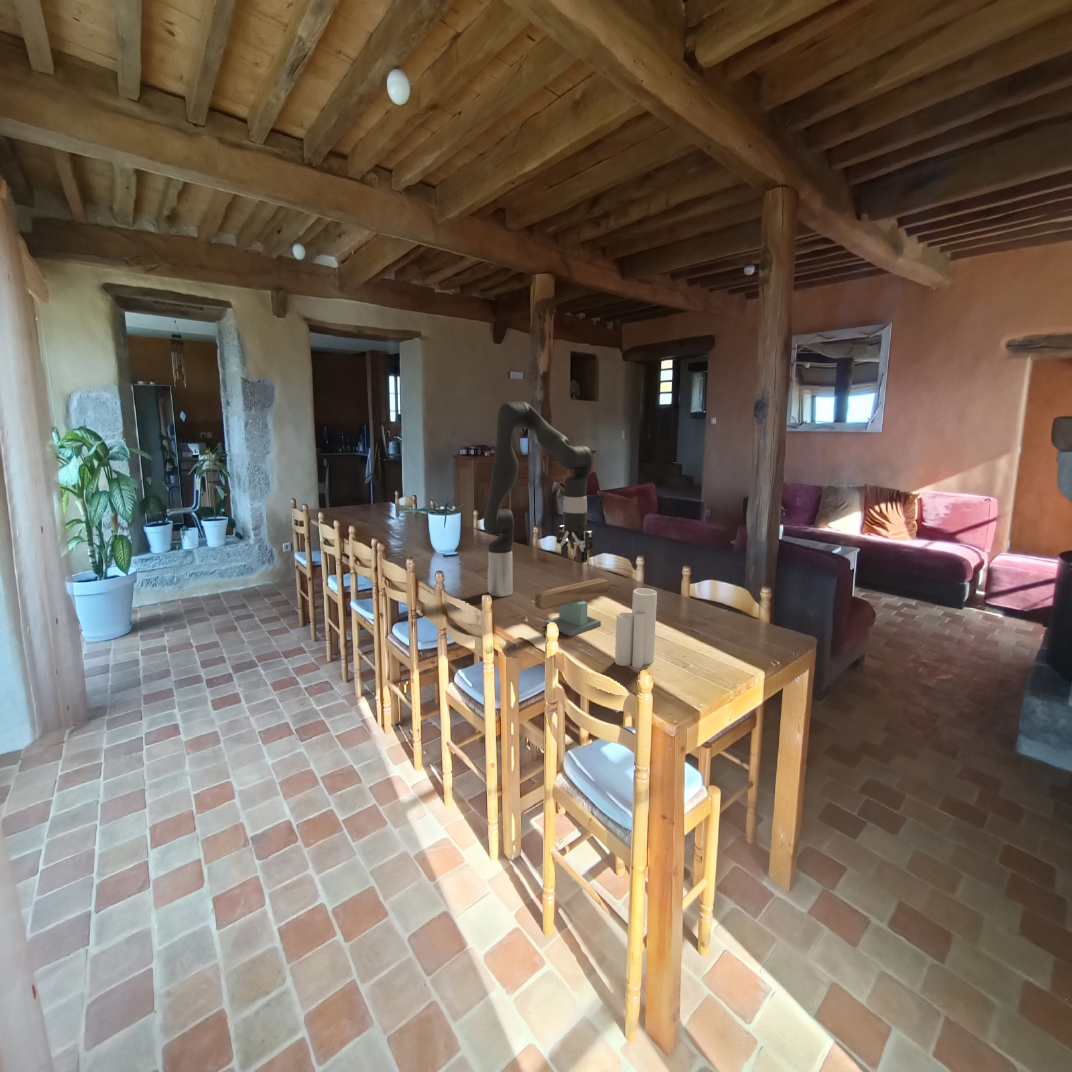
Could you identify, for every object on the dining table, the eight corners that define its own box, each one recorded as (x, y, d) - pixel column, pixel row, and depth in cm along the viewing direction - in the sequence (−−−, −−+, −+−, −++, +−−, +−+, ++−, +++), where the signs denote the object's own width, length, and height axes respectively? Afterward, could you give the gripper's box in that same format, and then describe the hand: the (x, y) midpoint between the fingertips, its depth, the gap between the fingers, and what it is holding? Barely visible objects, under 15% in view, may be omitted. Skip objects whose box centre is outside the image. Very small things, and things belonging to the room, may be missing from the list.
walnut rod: (535, 606, 170) (535, 592, 169) (599, 590, 186) (600, 577, 185) (542, 609, 167) (542, 596, 166) (608, 593, 183) (608, 580, 182)
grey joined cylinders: (642, 652, 157) (645, 587, 153) (659, 662, 151) (663, 593, 147) (611, 661, 152) (613, 593, 148) (628, 671, 146) (630, 600, 142)
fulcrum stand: (544, 625, 178) (545, 599, 176) (574, 616, 187) (575, 591, 185) (570, 636, 169) (570, 609, 168) (600, 625, 178) (601, 599, 177)
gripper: (550, 508, 173) (550, 557, 177) (582, 514, 163) (581, 566, 166) (567, 506, 178) (566, 554, 181) (599, 511, 168) (598, 562, 171)
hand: (574, 559), depth 174 cm, fingers open, 8 cm apart
